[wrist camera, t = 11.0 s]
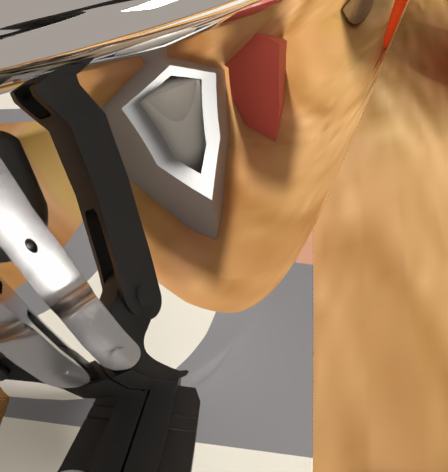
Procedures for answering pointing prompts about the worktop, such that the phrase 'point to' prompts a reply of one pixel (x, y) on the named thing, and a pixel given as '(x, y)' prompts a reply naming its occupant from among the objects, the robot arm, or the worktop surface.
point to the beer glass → (164, 176)
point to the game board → (212, 398)
